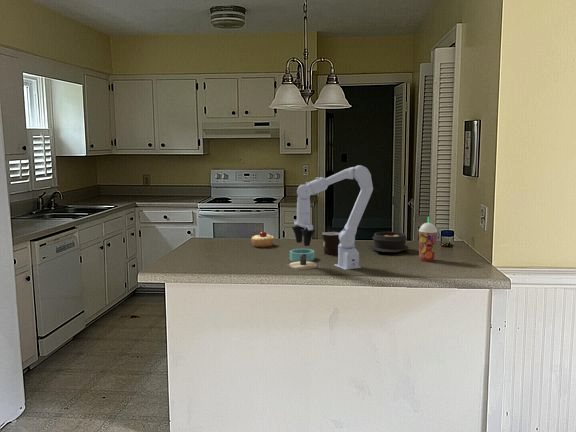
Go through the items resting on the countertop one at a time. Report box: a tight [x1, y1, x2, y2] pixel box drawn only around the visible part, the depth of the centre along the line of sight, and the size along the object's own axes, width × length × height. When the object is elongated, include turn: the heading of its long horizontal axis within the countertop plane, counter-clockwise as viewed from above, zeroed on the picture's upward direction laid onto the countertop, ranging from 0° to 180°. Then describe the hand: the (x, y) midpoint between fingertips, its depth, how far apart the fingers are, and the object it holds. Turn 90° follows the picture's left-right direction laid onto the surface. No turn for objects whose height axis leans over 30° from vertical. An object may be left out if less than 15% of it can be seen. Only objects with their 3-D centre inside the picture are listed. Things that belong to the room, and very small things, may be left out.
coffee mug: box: [321, 231, 340, 256], centre depth 265 cm, size 12×9×10 cm
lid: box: [288, 254, 318, 270], centre depth 238 cm, size 12×12×5 cm
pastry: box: [250, 228, 275, 248], centre depth 285 cm, size 12×12×9 cm
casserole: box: [370, 231, 410, 254], centre depth 271 cm, size 25×19×8 cm
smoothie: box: [417, 216, 438, 263], centre depth 248 cm, size 8×8×20 cm
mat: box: [285, 263, 323, 271], centre depth 238 cm, size 12×12×1 cm
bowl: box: [289, 248, 315, 262], centre depth 252 cm, size 11×11×4 cm
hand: (302, 244), depth 237 cm, fingers open, 7 cm apart
